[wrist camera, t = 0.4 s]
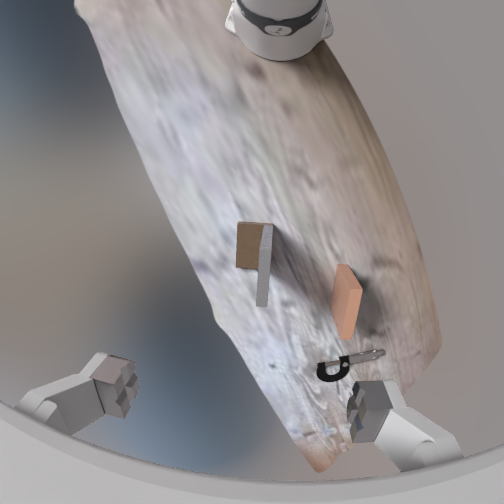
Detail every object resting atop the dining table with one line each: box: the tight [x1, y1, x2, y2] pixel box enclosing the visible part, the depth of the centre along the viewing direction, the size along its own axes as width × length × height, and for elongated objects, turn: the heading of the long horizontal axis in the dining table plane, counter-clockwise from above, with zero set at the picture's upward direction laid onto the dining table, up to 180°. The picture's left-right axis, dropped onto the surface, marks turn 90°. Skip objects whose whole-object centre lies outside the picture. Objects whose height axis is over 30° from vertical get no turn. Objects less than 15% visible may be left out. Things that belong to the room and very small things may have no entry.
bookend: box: [236, 221, 273, 307], centre depth 47 cm, size 8×6×16 cm
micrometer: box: [317, 349, 384, 382], centre depth 60 cm, size 15×7×3 cm, turn 102°
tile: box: [330, 264, 363, 339], centre depth 50 cm, size 9×2×11 cm, turn 177°
